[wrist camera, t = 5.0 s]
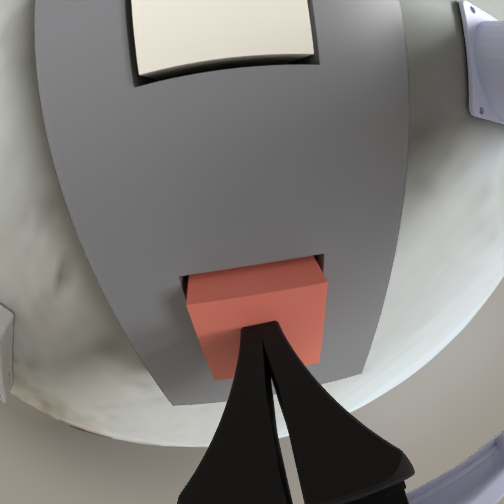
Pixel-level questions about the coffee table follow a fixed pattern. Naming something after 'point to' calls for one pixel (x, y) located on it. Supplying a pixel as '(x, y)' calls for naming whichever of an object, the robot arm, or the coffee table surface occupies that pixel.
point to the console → (229, 174)
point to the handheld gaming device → (6, 352)
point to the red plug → (258, 308)
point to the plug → (218, 35)
